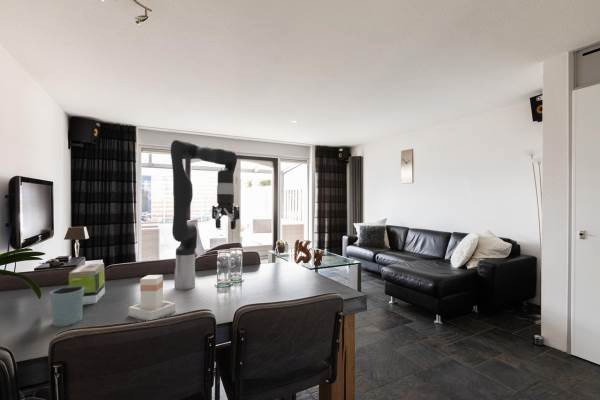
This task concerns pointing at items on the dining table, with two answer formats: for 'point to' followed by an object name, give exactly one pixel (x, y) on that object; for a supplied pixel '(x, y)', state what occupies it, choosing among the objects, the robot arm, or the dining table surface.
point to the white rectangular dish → (147, 315)
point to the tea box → (89, 281)
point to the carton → (151, 292)
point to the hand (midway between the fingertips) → (225, 228)
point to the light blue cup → (67, 305)
